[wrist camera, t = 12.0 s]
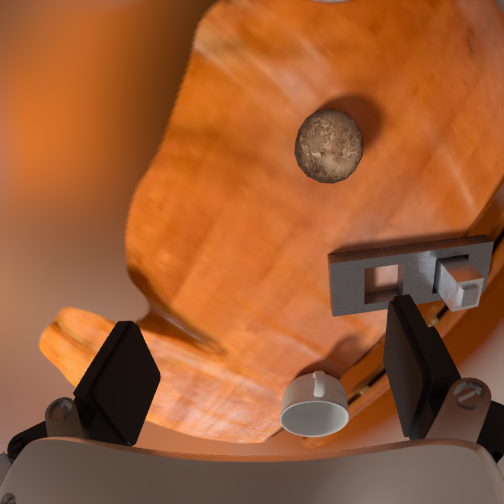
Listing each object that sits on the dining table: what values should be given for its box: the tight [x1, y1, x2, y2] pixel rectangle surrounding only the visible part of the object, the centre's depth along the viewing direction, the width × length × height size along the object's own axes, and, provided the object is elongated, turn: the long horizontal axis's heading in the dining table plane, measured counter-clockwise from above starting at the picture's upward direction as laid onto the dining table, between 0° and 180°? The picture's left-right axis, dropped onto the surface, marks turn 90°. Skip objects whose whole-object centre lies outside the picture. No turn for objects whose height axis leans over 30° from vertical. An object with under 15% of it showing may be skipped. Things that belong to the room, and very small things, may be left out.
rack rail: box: [328, 234, 494, 316], centre depth 39 cm, size 24×8×2 cm, turn 100°
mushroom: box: [294, 108, 363, 184], centre depth 33 cm, size 8×8×6 cm
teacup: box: [280, 371, 349, 437], centre depth 47 cm, size 14×11×8 cm
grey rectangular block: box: [433, 255, 484, 312], centre depth 36 cm, size 4×4×9 cm
